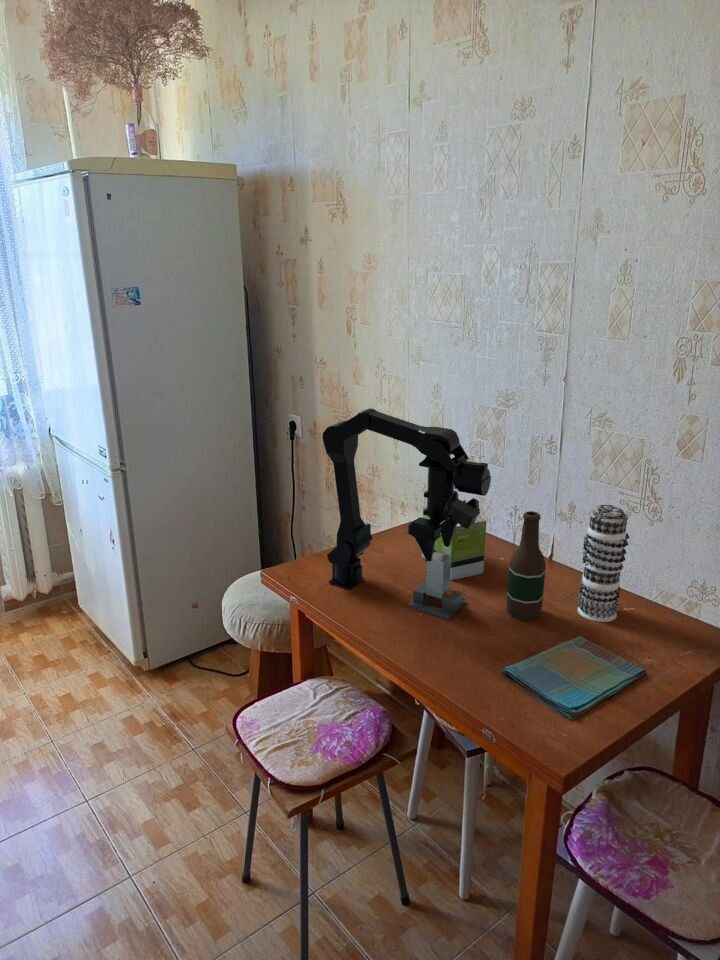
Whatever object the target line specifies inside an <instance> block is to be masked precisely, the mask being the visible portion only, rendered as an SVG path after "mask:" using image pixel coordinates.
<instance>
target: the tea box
mask: <svg viewBox="0 0 720 960" xmlns="http://www.w3.org/2000/svg"><path fill="white" fill-rule="evenodd" d="M426 508H427V506H423V508H422V509H423V510H425V509H426ZM423 510H422V511H423ZM422 518H425V519H430V518H429V517H428V516H427V515H423V514H422ZM486 533H487V520H485V519H484V518H482V517H481V516H479V515H478V516H477V518H476V520H475V522H474V524H472V525H471V526H470V527H469V528H463V527H461V525H460V524H457V526H456V528H455V531H454V534H453V537H452V540H451V543H450V546H449V547H445V546H444V543H443V540H442V535H441V533H440V535H441V537H439V538H438V539H437V540H436V541H435V545H434V550H433V553H434V552H438V553H442V554H446V555H450V556H451V570H450V581H455V579H456V580H460V579H463V578H464V577H465V578H469V577H473V576H477V575H480V574H481V575H482V574H483V573H484V567H485V553H486V552H485V549H486V536H487V535H486ZM421 557H422V558H423V559H424V560H425V561H426V559H425V557H424V555H423V553H422V552H421Z"/></svg>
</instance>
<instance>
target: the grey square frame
mask: <svg viewBox="0 0 720 960" xmlns="http://www.w3.org/2000/svg"><path fill="white" fill-rule="evenodd" d="M425 590H426V581H425V582H424V581H422V583H420V584H419V586H418V585H417V587H416V588H415V589H414V590H413V592H412V593H413V597H412V600H411V601H409V603H408V605H407V606H408V609H410V610H415V611H417V612H421V613H424V614H428V615H431V616H433V617H438V618H442V619H446V620H451V618H452V617H453V616H454V614H455V613H456V612H457V611H458V610H459V609H461V608H462V607H463V606H464V605H465V604H466V602H467V601H466V597H465V598H464V597H463V592H461V591H457V590H454V589H450V591H448V592H447V593H446V595H445V596H444V597H443V598H442V599H441V598H437V597H434V596H430V595H426V593H425ZM434 598H435V600H438V599H439V600H438V601H441V600H442V602H441V603H442V604H441V605H442V606H441V607H442V608H441V607H437V606H435V605H434V606H433V605H429V604H428V603H429V602H430V601H431V600H432V599H434Z"/></svg>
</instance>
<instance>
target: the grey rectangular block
mask: <svg viewBox="0 0 720 960" xmlns="http://www.w3.org/2000/svg"><path fill="white" fill-rule="evenodd" d="M450 570H451V556H450V555H446V554H442V553H438V552H434V553H433V556H432V560H431V561H430V562H429V561H426V581H425V583H426V590H425V593H426V595H430V596H434V597H437V598H441V599H442V598H443V597H444V596H445V595H446V593H447V592H448V591H451V580H450Z"/></svg>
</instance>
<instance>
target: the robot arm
mask: <svg viewBox="0 0 720 960" xmlns="http://www.w3.org/2000/svg"><path fill="white" fill-rule="evenodd" d="M366 430H368V431H370V432H374V433H376V434H379V435H383V436H385V437H387V438H390V439H394V440H397V441H399V442H402V443H404V444H408V445H410V446H412V447H414V448H415V449H416V450H418V452H419V453H421V454H422V455H424V456H425V458H424V459H423V460H422V461H420V462H419V463H418V466H419V467H423V468H427V490H426V491H424V492H423V498H426V507H427V508H426V509H425V510H422V511H423V512H422V516H423V515H427V516H428V517H429V518H430V519H425V518H423V517H417V518H416V519H415V520H414V521H412V522H411V523H409V524H408V527H407V528H408V529H407V532H408V535H410V536H411V537H413V538H414V539H415V541H416V543H417V544H418V546H419V548H420V550H421V554H422V553H423V555H424V557H425V559H426V560H425V559H424V560H425V561H426V562H427V561H429V562H430V561H431V560H432V556H433V550H434V545H435V541H436V540H437V539H438V538H439V537H441V535H442V540H443V543H444V546H445V547H449V546H450V543H451V540H452V537H453V534H454V531H455V528H456V526H457V524H460V525H461V527H463V528H469V527H470V526H471V525H472V524H474V522H475V520H476V518H477V516H479V515H480V514H481V511H480V510H481V509H480V502H479V501H480V500H478V499H477V498H475V497H473V498H470V499H469V500H465V499H463V500H461V499H460V498H459V492H460V493H465V494H470V495H477V496H484V497H485V496H487V494H488V493H489V490H490V487H491V481H492V476H491V473H490V469H489V467H488V466H489V464H488V462H475V461H469V459H470V457H469V456H468V455H467V453H466V451H465V450H464V448H463V446H462V445H461V442H460V438H459V436H458V434H457V432H456V431H455V430H454V429H451V428H447V427H441V426H423V425H420V424H416V423H414V422H413V423H412V422H410V421H407V420H404V419H401V418H398V417H395V416H392V415H390V414H387V413H384V412H380V411H377V410H376V409H374V408H371V407H369V408H367V409H364V410H361V411H360V412H358V413H357V414H356V415H354V416H353V417H351V418H350V419H348V420H342V421H339V422H337V423H335V424H332V425H329V426H328V427H326V428H325V430H324V431H323V432H322V443H323V446H324V450H325V453H326V455H327V456H328V457H329V459H330V460H331V462H332V465H333V471H334V477H335V478H334V479H335V488H336V495H337V502H338V512H339V519H340V520H339V525H338V530H337V533H336V540H335V541H336V546H335V548H333V549H331V551H330V552H328V553H327V555H326V556H327V560H328V563H329V564H331V565H332V567H331V570H332V571H331V572H332V574H331V575H332V576H331V579H329V580H328V584H330V585H334V586H337V587H341V588H344V589H348V590H352V589H354V588H355V587H356V586H358V585H359V584H360V583H362V581H364V580H365V578H364V576H363V566H362V564H361V563H362V561H361V559H362V558H359V557H360V556H362V555H363V554H364V553H365V552H366V550H367V549H369V547H370V546H371V541H372V540H373V539H374V538H373V536H372V532H371V528H372V526H371V523H365V522H364V520H363V519H362V517H361V509H360V501H359V493H358V482H357V476H356V475H357V474H356V466H355V457H356V454H357V450H358V447H359V435H361V434H362V433H364V432H366ZM452 455H453V457H451V456H452ZM440 533H441V535H440Z"/></svg>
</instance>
